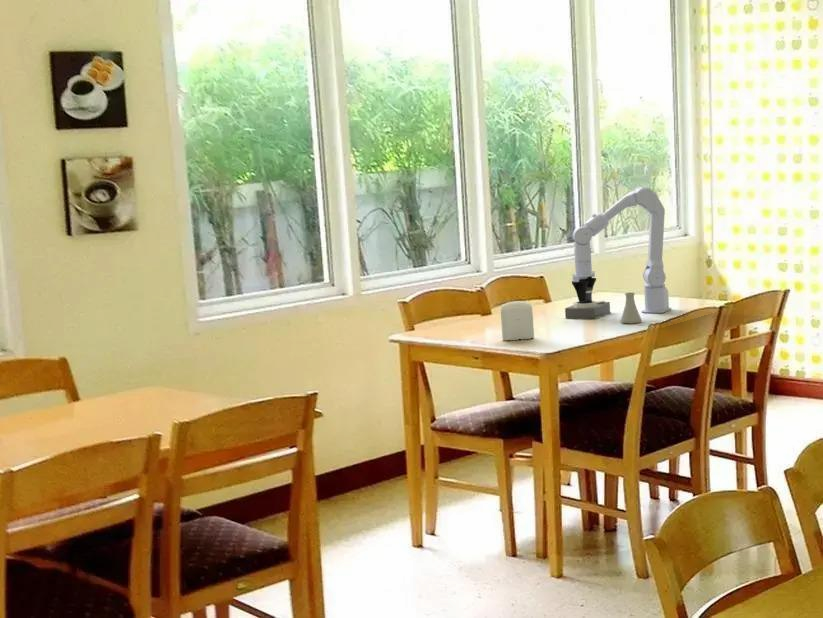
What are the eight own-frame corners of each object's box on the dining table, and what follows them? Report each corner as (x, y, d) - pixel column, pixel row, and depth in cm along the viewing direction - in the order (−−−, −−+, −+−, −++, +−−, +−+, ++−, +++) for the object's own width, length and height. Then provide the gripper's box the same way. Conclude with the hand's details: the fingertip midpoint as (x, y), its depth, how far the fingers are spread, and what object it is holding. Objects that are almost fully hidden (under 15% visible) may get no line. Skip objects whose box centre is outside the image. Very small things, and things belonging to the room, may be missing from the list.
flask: (641, 323, 407) (640, 294, 405) (619, 324, 408) (618, 295, 407) (642, 320, 414) (640, 291, 412) (620, 321, 415) (619, 292, 414)
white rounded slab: (502, 341, 391) (500, 303, 389) (501, 339, 395) (499, 301, 393) (535, 339, 391) (532, 301, 389) (533, 337, 395) (531, 299, 393)
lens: (583, 303, 433) (582, 286, 432) (594, 304, 430) (594, 287, 429) (576, 305, 429) (575, 288, 429) (587, 306, 426) (587, 288, 426)
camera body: (581, 311, 441) (581, 298, 440) (610, 312, 435) (609, 298, 434) (565, 318, 429) (564, 304, 429) (594, 318, 423) (593, 304, 423)
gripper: (580, 258, 436) (582, 296, 438) (564, 263, 424) (565, 302, 426) (599, 258, 432) (601, 296, 434) (582, 263, 420) (584, 302, 422)
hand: (584, 299), depth 430 cm, fingers closed on lens, 5 cm apart
